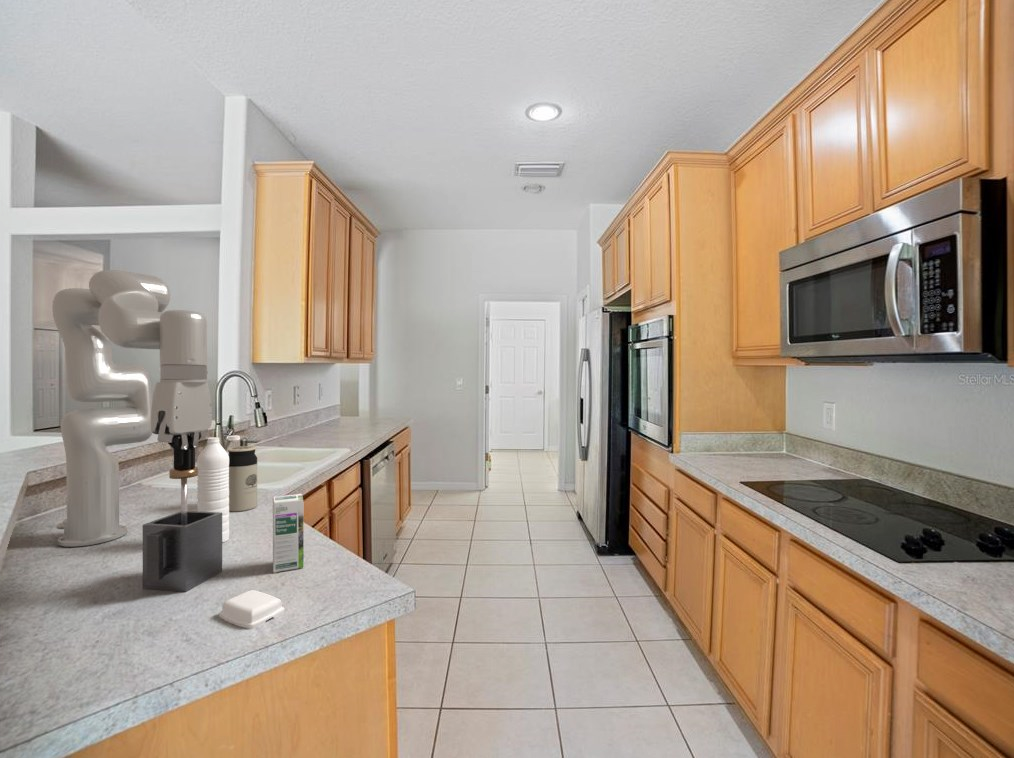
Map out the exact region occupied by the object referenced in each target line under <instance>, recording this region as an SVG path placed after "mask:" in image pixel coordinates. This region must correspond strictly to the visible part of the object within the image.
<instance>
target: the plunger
mask: <svg viewBox="0 0 1014 758" xmlns="http://www.w3.org/2000/svg"><path fill="white" fill-rule="evenodd" d="M168 477H169V479H171V480H180V511H181V525H185V526H186V525H187V511H188V479H190V478H191V479H192V478H195V477H198V467H197V466H195V468H194V469H190V470H175V469H174V468H171V469H169V476H168Z"/></svg>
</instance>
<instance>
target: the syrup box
mask: <svg viewBox="0 0 1014 758" xmlns="http://www.w3.org/2000/svg"><path fill="white" fill-rule="evenodd" d="M304 512H305V511H304V497H303V494H302V493H297V494H287V495H277V496H273V497H272V572H273V574H276V573H279V572H287V571H292V570H297V569H303V568H304V563H305V561H304V558H305V556H304V553H305V552H304V546H305V545H304V541H305V540H304Z"/></svg>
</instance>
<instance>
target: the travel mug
mask: <svg viewBox="0 0 1014 758" xmlns="http://www.w3.org/2000/svg"><path fill="white" fill-rule="evenodd" d="M256 450H257V447H256V446H253V445H242V446H233V447H229V448H227V451H228V452H227V453H228V455H229V512H234V513H235V512H236V513H238V512H247V511H250V510H253V509H255V508H256V507H257V506H258V457H257V454H256Z"/></svg>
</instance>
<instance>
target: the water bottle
mask: <svg viewBox="0 0 1014 758" xmlns="http://www.w3.org/2000/svg"><path fill="white" fill-rule="evenodd" d="M240 439H241V435H235V434H234V435H228V436H227V440H228V441H232V442H233V441H240ZM196 459H197V460H196V467H198V476H196V477H197V480H196V481H197V487H196V488H197V491H196V493H197V494H196V498H197V502H196V503H197V505H196V506H197V510H196V511H201V512H220V513H222V543H225V542H227V541H228V540H229V539H230V511H229V452H227V450H226V449H225V448H224V447H223V446H222V445H221V443H220V437H216V436H214V437H207V441H206V445H205V446H204V447H203V449H202V450H201V451H200V453H199V455H198V456H197V458H196Z"/></svg>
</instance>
